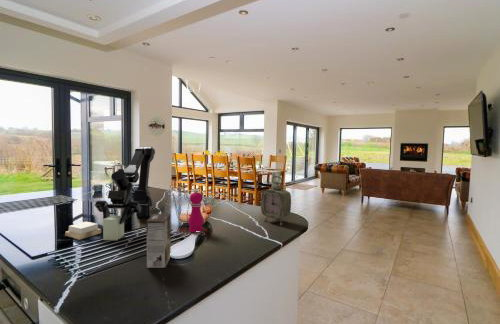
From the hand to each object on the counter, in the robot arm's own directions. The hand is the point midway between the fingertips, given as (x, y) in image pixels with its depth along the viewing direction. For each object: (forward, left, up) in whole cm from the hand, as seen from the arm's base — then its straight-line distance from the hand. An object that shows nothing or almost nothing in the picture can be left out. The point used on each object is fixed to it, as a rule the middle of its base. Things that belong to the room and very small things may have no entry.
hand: (112, 223), depth 118 cm
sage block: (-1, -1, -7) cm, 7 cm away
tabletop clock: (-79, +7, -7) cm, 79 cm away
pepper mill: (-36, +4, -7) cm, 36 cm away
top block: (+11, -11, -5) cm, 17 cm away
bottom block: (+11, -11, -7) cm, 18 cm away
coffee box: (-15, +32, -7) cm, 36 cm away
